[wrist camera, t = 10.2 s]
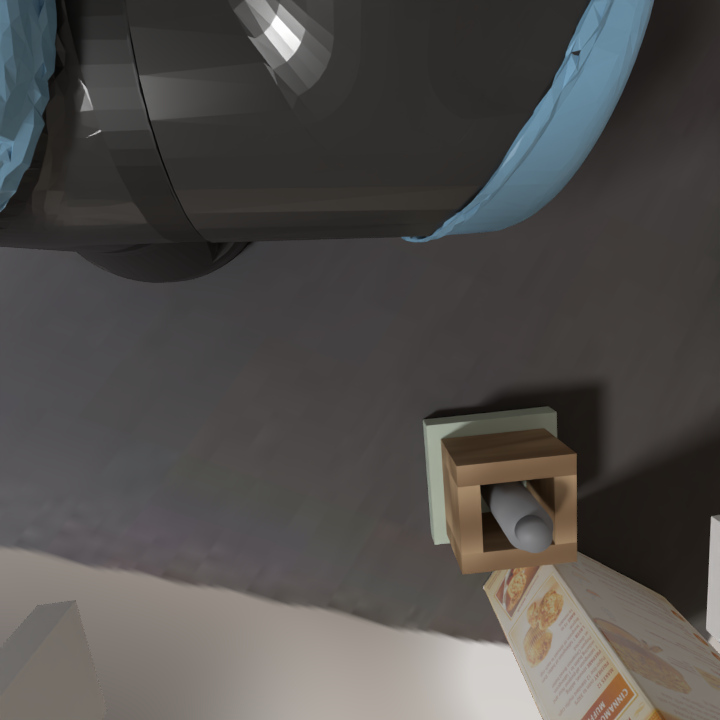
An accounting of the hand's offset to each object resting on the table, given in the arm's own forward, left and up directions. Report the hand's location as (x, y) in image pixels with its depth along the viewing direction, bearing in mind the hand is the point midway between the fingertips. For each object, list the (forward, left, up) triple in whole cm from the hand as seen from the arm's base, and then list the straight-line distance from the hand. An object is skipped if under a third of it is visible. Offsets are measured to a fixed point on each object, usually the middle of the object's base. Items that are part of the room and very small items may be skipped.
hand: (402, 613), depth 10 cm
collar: (+10, +10, -25) cm, 29 cm away
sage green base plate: (+10, +10, -26) cm, 30 cm away
